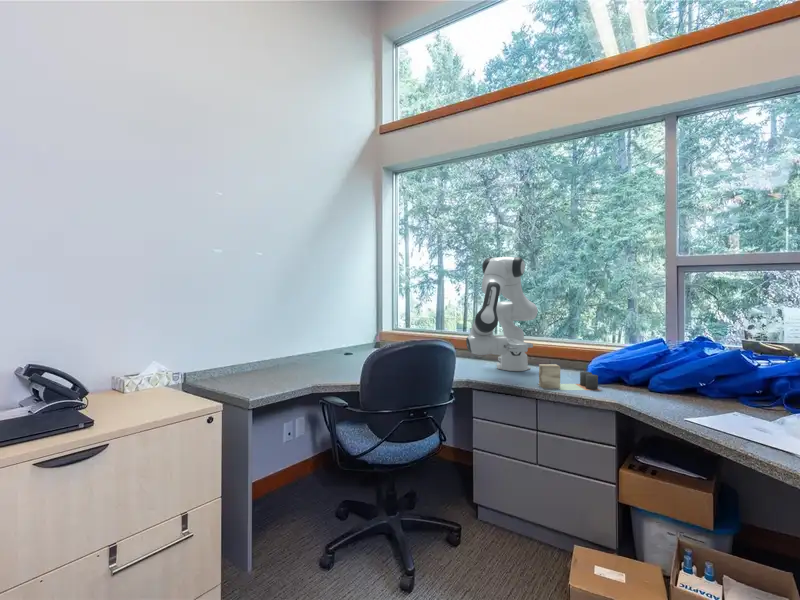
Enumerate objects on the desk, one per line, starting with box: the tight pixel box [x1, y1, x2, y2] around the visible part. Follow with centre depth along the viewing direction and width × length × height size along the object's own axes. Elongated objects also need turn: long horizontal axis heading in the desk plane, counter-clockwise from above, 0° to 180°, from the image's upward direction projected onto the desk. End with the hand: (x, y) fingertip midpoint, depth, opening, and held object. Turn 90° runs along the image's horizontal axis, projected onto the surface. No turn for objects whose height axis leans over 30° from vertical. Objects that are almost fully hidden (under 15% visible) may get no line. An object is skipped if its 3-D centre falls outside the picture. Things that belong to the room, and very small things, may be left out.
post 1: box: [579, 371, 593, 387], centre depth 187 cm, size 5×5×6 cm
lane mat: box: [537, 383, 601, 391], centre depth 185 cm, size 12×25×1 cm, turn 88°
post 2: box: [586, 373, 599, 391], centre depth 181 cm, size 5×5×6 cm
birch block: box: [538, 363, 561, 389], centre depth 185 cm, size 5×8×10 cm, turn 88°
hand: (532, 345), depth 185 cm, fingers closed
